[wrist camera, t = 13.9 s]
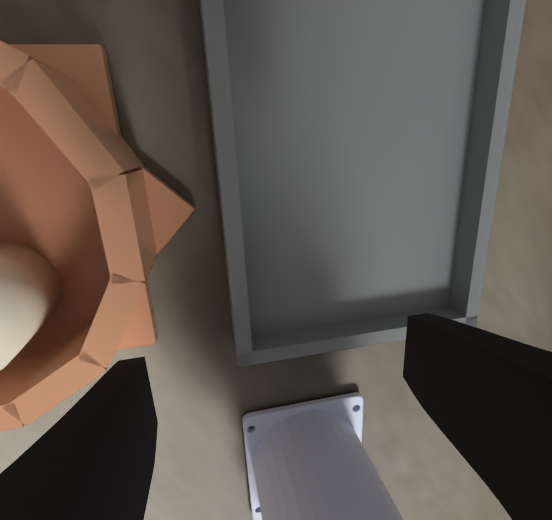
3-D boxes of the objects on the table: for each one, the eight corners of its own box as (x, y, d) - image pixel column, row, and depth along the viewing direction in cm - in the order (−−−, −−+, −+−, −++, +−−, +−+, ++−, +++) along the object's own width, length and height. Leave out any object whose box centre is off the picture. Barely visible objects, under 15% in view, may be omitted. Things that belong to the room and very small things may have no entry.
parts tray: (447, 309, 22) (476, 327, 20) (234, 342, 20) (238, 367, 17) (493, -75, 16) (543, -113, 14) (189, -98, 13) (186, -149, 11)
